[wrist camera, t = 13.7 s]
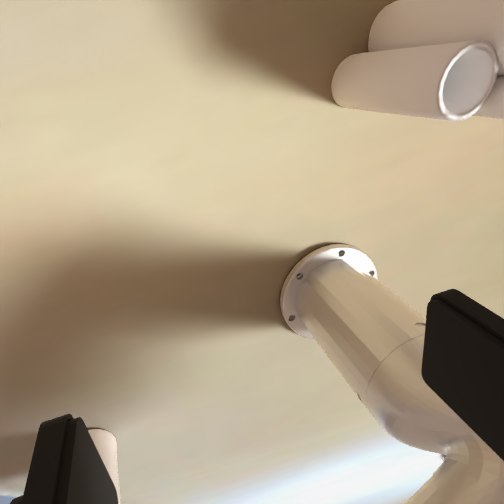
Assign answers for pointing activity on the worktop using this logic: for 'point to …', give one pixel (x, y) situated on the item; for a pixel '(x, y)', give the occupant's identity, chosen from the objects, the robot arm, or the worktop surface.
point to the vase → (429, 61)
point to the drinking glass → (107, 454)
